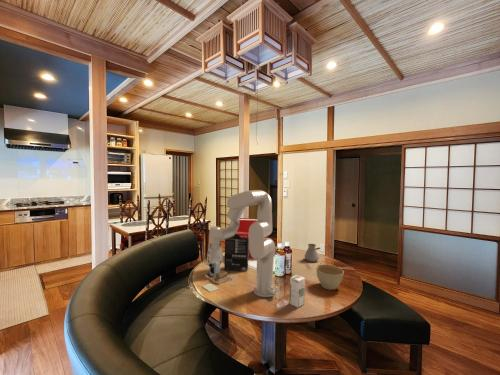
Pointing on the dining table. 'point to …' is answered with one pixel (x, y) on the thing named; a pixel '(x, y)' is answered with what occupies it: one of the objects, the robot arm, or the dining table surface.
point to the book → (246, 227)
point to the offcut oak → (221, 279)
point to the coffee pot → (311, 253)
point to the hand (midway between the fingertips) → (214, 271)
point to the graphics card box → (237, 252)
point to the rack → (214, 278)
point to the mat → (210, 287)
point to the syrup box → (297, 291)
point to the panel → (215, 269)
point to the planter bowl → (329, 276)
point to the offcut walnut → (221, 275)
